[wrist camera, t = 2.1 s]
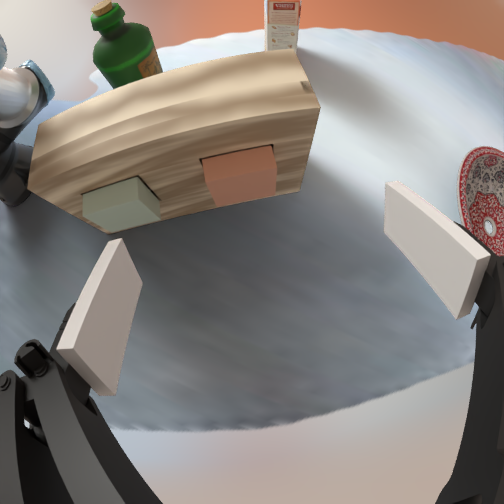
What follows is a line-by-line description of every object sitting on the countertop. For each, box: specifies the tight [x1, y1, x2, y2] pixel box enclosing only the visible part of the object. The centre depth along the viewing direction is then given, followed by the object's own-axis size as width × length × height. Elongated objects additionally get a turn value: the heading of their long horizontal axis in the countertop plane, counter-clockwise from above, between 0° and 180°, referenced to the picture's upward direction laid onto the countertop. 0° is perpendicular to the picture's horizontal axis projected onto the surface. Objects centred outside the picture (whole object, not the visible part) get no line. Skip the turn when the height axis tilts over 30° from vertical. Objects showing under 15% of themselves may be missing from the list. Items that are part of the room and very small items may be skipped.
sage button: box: [83, 177, 161, 233], centre depth 35 cm, size 3×8×8 cm, turn 101°
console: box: [27, 49, 321, 234], centre depth 38 cm, size 10×34×22 cm, turn 101°
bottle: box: [91, 0, 163, 89], centre depth 39 cm, size 11×11×28 cm
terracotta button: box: [202, 145, 277, 207], centre depth 35 cm, size 3×8×8 cm, turn 101°
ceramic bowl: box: [457, 146, 504, 257], centre depth 41 cm, size 29×29×8 cm
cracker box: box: [264, 0, 301, 53], centre depth 44 cm, size 14×6×21 cm, turn 0°
